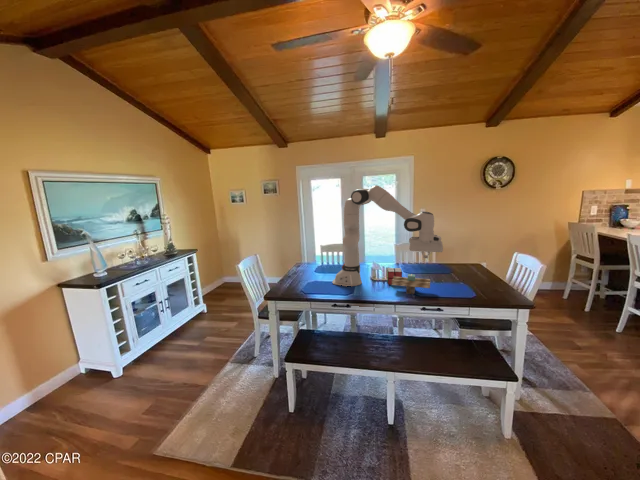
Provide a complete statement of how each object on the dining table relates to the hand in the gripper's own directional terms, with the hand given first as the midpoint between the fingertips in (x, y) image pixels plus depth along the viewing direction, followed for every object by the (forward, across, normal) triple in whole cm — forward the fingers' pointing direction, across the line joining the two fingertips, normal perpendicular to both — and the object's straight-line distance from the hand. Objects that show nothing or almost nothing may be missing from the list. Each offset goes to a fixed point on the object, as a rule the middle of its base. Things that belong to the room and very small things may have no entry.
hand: (425, 258), depth 177 cm
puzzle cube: (+24, -22, +16) cm, 36 cm away
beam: (+24, -9, 0) cm, 26 cm away
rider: (+17, -8, 0) cm, 19 cm away
